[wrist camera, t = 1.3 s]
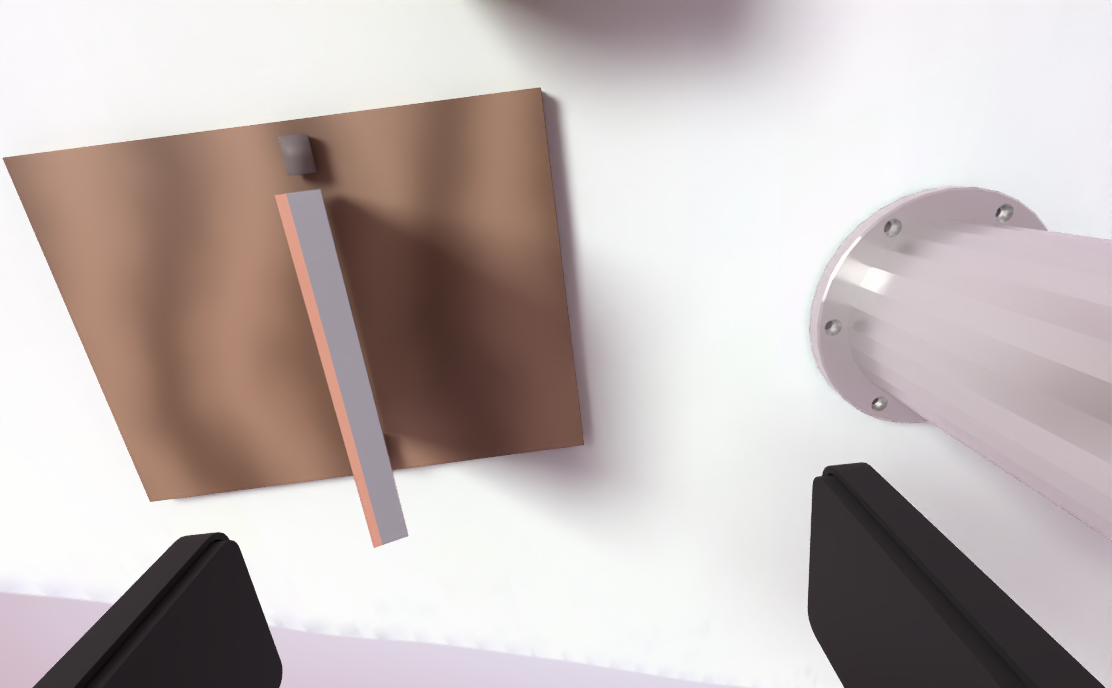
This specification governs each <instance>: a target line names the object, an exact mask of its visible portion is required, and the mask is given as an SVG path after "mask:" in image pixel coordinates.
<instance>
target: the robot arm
mask: <svg viewBox="0 0 1112 688" xmlns="http://www.w3.org/2000/svg"><path fill="white" fill-rule="evenodd" d="M885 224H886V226H885ZM884 227H885V228H884ZM827 323H828V324H827ZM826 324H827V325H826ZM809 331H810V339H811V347H812V352H813V355H814V358H815V360H816V363H817V366H818V369H819V370H820V372H821V374H822V375H823V377H824V378H825V380H826V381H827V383H828V385H829V386H830V387H831V388H833V389H834V390H835V391H836V392H837V393H838V394H839V395H840V396H841V397H842V398H843V399H844V400H846V401H847V402H849V403H850V404H851V405H853V406H854V407H856V408H857V409H858V410H860V411H862V412H864V413H866V414H868V415H870V416H873V417H876V418H880V419H884V420H889V421H893V422H909V423H917V422H925V421H930V422H931V423H933V424H934V425H936V426H937V427H939V428H940V429H942V430H943V431H945V432H946V433H948V434H949V435H951V436H953V437H954V438H956V439H957V440H959V441H960V442H962V443H963V444H965V445H966V446H968V447H969V448H971V449H972V450H974V451H975V452H977V453H978V454H980V455H981V456H983V457H984V458H986V459H987V460H989V461H991V462H992V463H994V464H995V465H997V466H998V467H1000V468H1001V469H1003V470H1004V471H1006V472H1007V473H1009V474H1010V475H1012V476H1013V477H1015V478H1016V479H1018V480H1019V481H1021V482H1022V483H1024V484H1026V485H1027V486H1029V487H1030V488H1032V489H1033V490H1035V491H1036V492H1038V493H1039V494H1041V495H1042V496H1044V497H1045V498H1047V499H1048V500H1050V501H1051V502H1053V503H1054V504H1056V505H1057V506H1059V507H1061V508H1062V509H1064V510H1065V511H1067V512H1068V513H1070V514H1071V515H1073V516H1074V517H1076V518H1077V519H1079V520H1080V521H1082V522H1083V523H1085V524H1086V525H1088V526H1089V527H1091V528H1092V529H1094V530H1095V531H1097V532H1099V533H1100V534H1102V535H1103V536H1105V537H1106V538H1108V539H1109V540H1111V541H1112V240H1108V239H1100V238H1093V237H1086V236H1079V235H1072V234H1064V233H1057V232H1050V231H1048V230H1047V228H1046V227H1045V226H1044V224H1043V223H1042V222H1041V221H1040V219H1039V218H1038V217H1037V215H1036V214H1035V213H1034V212H1033V211H1031V210H1030V209H1029V208H1028V207H1026V206H1025V205H1024V204H1022V203H1021V202H1020V201H1019V200H1017V199H1014V198H1012V197H1010V196H1008V195H1005V194H1003V193H1001V192H998V191H994V190H988V189H983V188H977V187H959V186H948V187H941V188H933V189H926V190H923V191H920V192H917V193H914V194H911V195H908V196H905V197H902V198H900V199H899V200H897V201H895V202H893V203H891V204H889V205H887V206H885V207H883V208H881V209H880V210H878V211H877V212H876V213H875V214H873V215H872V216H871V217H869V218H868V219H867V220H865V221H864V222H863V223H861V224H860V225H859V226H858V227H857V228H856V229H855V230H854V231H853V232H852V233H851V234H850V235H849V236H848V237H847V238H846V240H845V241H844V242H843V243H842V244H841V245H840V247H839V248H838V250H837V251H836V252H835V254H834V255H833V257H832V258H831V260H830V261H829V263H828V264H827V266H826V268H825V270H824V273H823V275H822V277H821V279H820V281H819V283H818V285H817V288H816V292H815V296H814V299H813V303H812V307H811V316H810V329H809ZM808 616H809V621H810V624H811V627H812V630H813V632H814V634H815V637H816V638H817V640H818V642H819V644H820V645H821V647H822V649H823V651H824V653H825V654H826V656H827V658H828V660H829V661H830V663H831V665H832V667H833V668H834V670H835V672H836V674H837V676H838V677H839V679H840V681H841V683H842V684H843V686H844V688H1105V687H1104V686H1103V685H1102V684H1101V683H1100V682H1099V681H1098V680H1097V679H1096V678H1095V677H1094V676H1092V675H1091V674H1090V673H1089V672H1088V671H1087V670H1086V669H1085V668H1084V667H1083V666H1082V665H1081V664H1080V663H1079V662H1078V661H1077V660H1076V659H1074V658H1073V657H1072V656H1071V655H1070V654H1069V653H1068V652H1067V651H1066V650H1065V649H1064V648H1063V647H1062V646H1061V645H1060V644H1059V643H1058V642H1056V641H1055V640H1054V639H1053V638H1052V637H1051V636H1050V635H1049V634H1048V633H1047V632H1046V631H1045V630H1044V629H1043V628H1042V627H1041V626H1040V625H1038V624H1037V623H1036V622H1035V621H1034V620H1033V619H1032V618H1031V617H1030V616H1029V615H1028V614H1027V613H1026V612H1025V611H1024V610H1023V609H1022V608H1020V607H1019V606H1018V605H1017V604H1016V603H1015V602H1014V601H1013V600H1012V599H1011V598H1010V597H1009V596H1008V595H1007V594H1006V593H1005V592H1004V591H1002V590H1001V589H1000V588H999V587H998V586H997V585H996V584H995V583H994V582H993V581H992V580H991V579H990V578H989V577H988V576H987V575H986V574H984V573H983V572H982V571H981V570H980V569H979V568H978V567H977V566H976V565H975V564H974V563H973V562H972V561H971V560H970V559H969V558H968V557H966V556H965V555H964V554H963V553H962V552H961V551H960V550H959V549H958V548H957V547H956V546H955V545H954V544H953V543H952V542H951V541H950V540H948V539H947V538H946V537H945V536H944V535H943V534H942V533H941V532H940V531H939V530H938V529H937V528H936V527H935V526H934V525H933V524H932V523H930V522H929V521H928V520H927V519H926V518H925V517H924V516H923V515H922V514H921V513H920V512H919V511H918V510H917V509H916V508H915V507H914V506H912V505H911V504H910V503H909V502H908V501H907V500H906V499H905V498H904V497H903V496H902V495H901V494H900V493H899V492H898V491H897V490H896V489H894V488H893V487H892V486H891V485H890V484H889V483H888V482H887V481H886V480H885V479H884V478H883V477H882V476H881V475H880V474H879V473H878V472H876V471H875V470H874V469H873V468H872V467H871V466H870V465H868V464H867V463H862V462H861V463H852V464H842V465H833V466H827V467H826V468H825V469H824V471H823V475H822V476H819V477H816V478H815V479H814V481H813V489H812V513H811V538H810V563H809V588H808ZM281 680H282V664H281V660H280V658H279V655H278V652H277V649H276V646H275V644H274V641H273V638H272V635H271V633H270V630H269V627H268V624H267V622H266V619H265V616H264V613H263V611H262V608H261V605H260V603H259V600H258V597H257V594H256V592H255V589H254V586H253V583H252V581H251V578H250V575H249V572H248V570H247V567H246V564H245V561H244V559H243V556H242V553H241V550H240V548H239V546H238V544H237V543H236V542H235V541H232V540H229V538H228V537H227V536H226V535H225V534H224V533H220V532H217V533H207V534H198V535H189V536H184V537H181V538H179V539H178V540H177V541H175V542H174V543H173V544H172V545H171V546H170V547H169V548H168V549H167V551H166V552H165V553H164V554H163V555H162V556H161V557H160V558H159V559H158V560H157V561H156V562H155V563H154V564H153V565H152V566H151V567H150V568H149V569H148V570H147V571H146V572H145V573H144V574H143V575H142V576H141V577H140V578H139V579H138V580H137V581H136V582H135V583H134V584H133V585H132V586H131V587H130V588H129V589H128V590H127V591H126V593H125V594H124V595H123V596H122V597H121V598H120V599H119V600H118V601H117V602H116V603H115V604H114V605H113V606H112V607H111V608H110V609H109V610H108V611H107V612H106V613H105V614H104V615H103V616H102V617H101V618H100V619H99V620H98V621H97V622H96V623H95V624H94V625H93V626H92V627H91V628H90V630H88V632H86V634H85V635H84V636H83V637H82V638H81V639H80V640H79V641H78V642H77V643H76V644H75V645H74V646H73V647H72V648H71V649H70V650H69V651H68V652H67V653H66V654H65V655H64V656H63V657H62V658H61V659H60V660H59V661H58V662H57V663H56V664H55V665H54V667H52V668H51V669H50V670H49V671H48V672H47V673H46V674H45V676H44V677H43V678H42V679H41V680H40V681H39V682H38V683H37V684H36V685H35V686H34V687H33V688H279V687H280V684H281Z"/></svg>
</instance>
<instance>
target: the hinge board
mask: <svg viewBox="0 0 1112 688" xmlns="http://www.w3.org/2000/svg"><path fill="white" fill-rule="evenodd" d="M3 160H4V162H5V165H6V167H7V169H8V172H9V174H10V176H11V179H12V181H13V183H14V186H15V188H16V190H17V193H18V195H19V197H20V200H21V202H22V204H23V207H24V209H25V211H26V214H27V216H28V218H29V221H30V223H31V225H32V228H33V230H34V232H35V235H36V237H37V239H38V242H39V244H40V246H41V249H42V251H43V253H44V256H45V258H46V260H47V263H48V265H49V267H50V270H51V272H52V274H53V277H54V279H55V281H56V284H57V286H58V288H59V291H60V293H61V295H62V298H63V300H64V302H65V305H66V307H67V309H68V312H69V314H70V316H71V318H72V321H73V323H74V325H75V328H76V330H77V332H78V335H79V337H80V339H81V342H82V344H83V346H84V349H85V351H86V353H87V356H88V358H89V360H90V363H91V365H92V367H93V370H94V372H95V374H96V377H97V379H98V381H99V384H100V386H101V388H102V391H103V393H104V395H105V398H106V400H107V402H108V405H109V407H110V409H111V412H112V414H113V416H114V419H115V421H116V423H117V426H118V428H119V430H120V433H121V435H122V437H123V440H124V442H125V444H126V447H127V449H128V451H129V454H130V456H131V458H132V461H133V463H134V465H135V468H136V470H137V472H138V475H139V477H140V479H141V482H142V484H143V486H144V489H145V491H146V493H147V496H148V498H149V500H150V502H153V501H160V500H168V499H176V498H183V497H191V496H198V495H206V494H214V493H221V492H229V491H237V490H244V489H252V488H259V487H267V486H275V485H282V484H290V483H297V482H305V481H313V480H320V479H328V478H336V477H343V476H351V475H353V472H352V468H351V465H350V461H349V458H348V454H347V451H346V447H345V443H344V440H343V436H342V433H341V429H340V426H339V422H338V419H337V415H336V412H335V408H334V404H333V401H332V397H331V394H330V390H329V387H328V383H327V380H326V376H325V373H324V369H323V365H322V362H321V358H320V355H319V351H318V348H317V344H316V341H315V337H314V333H313V330H312V326H311V323H310V319H309V316H308V312H307V309H306V305H305V302H304V298H303V294H302V291H301V287H300V284H299V280H298V277H297V273H296V270H295V266H294V262H293V259H292V255H291V252H290V248H289V245H288V241H287V238H286V234H285V231H284V227H283V223H282V220H281V216H280V213H279V209H278V206H277V202H276V199H275V195H279V194H285V193H291V192H298V191H305V190H313V189H320V188H321V189H322V193H323V197H324V201H325V205H326V209H327V213H328V217H329V221H330V225H331V229H332V233H333V237H334V241H335V245H336V248H337V252H338V256H339V260H340V264H341V268H342V272H343V276H344V280H345V284H346V288H347V292H348V296H349V300H350V304H351V308H352V312H353V315H354V319H355V323H356V327H357V331H358V335H359V339H360V343H361V347H362V351H363V355H364V359H365V363H366V367H367V371H368V375H369V378H370V382H371V386H372V390H373V394H374V398H375V402H376V406H377V410H378V414H379V418H380V422H381V426H382V430H383V434H384V438H385V442H386V446H387V450H388V454H389V458H390V463H391V467H392V470H396V469H404V468H412V467H419V466H427V465H435V464H442V463H450V462H457V461H465V460H473V459H480V458H488V457H495V456H503V455H511V454H518V453H526V452H534V451H541V450H549V449H556V448H564V447H572V446H579V445H584V442H583V433H582V425H581V417H580V409H579V400H578V392H577V384H576V376H575V367H574V359H573V351H572V343H571V334H570V326H569V318H568V309H567V301H566V293H565V285H564V276H563V268H562V260H561V252H560V243H559V235H558V227H557V218H556V210H555V202H554V194H553V185H552V177H551V169H550V161H549V152H548V144H547V136H546V128H545V119H544V111H543V103H542V94H541V88H533V89H525V90H518V91H510V92H502V93H495V94H487V95H479V96H472V97H464V98H456V99H449V100H441V101H433V102H426V103H418V104H411V105H403V106H395V107H388V108H380V109H372V110H365V111H357V112H349V113H342V114H334V115H326V116H319V117H311V118H303V119H296V120H288V121H280V122H273V123H265V124H258V125H250V126H242V127H235V128H227V129H219V130H212V131H204V132H196V133H189V134H181V135H173V136H166V137H158V138H150V139H143V140H135V141H127V142H120V143H112V144H105V145H97V146H89V147H82V148H74V149H66V150H59V151H51V152H43V153H36V154H28V155H20V156H13V157H5V158H3Z"/></svg>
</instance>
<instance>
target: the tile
mask: <svg viewBox="0 0 1112 688" xmlns="http://www.w3.org/2000/svg"><path fill="white" fill-rule="evenodd" d="M275 199H276V202H277V206H278V209H279V213H280V216H281V220H282V223H283V227H284V231H285V234H286V238H287V241H288V245H289V248H290V252H291V255H292V259H293V262H294V266H295V270H296V273H297V277H298V280H299V284H300V287H301V291H302V294H303V298H304V302H305V305H306V309H307V312H308V316H309V319H310V323H311V326H312V330H313V333H314V337H315V341H316V344H317V348H318V351H319V355H320V358H321V362H322V365H323V369H324V373H325V376H326V380H327V383H328V387H329V390H330V394H331V397H332V401H333V404H334V408H335V412H336V415H337V419H338V422H339V426H340V429H341V433H342V436H343V440H344V443H345V447H346V451H347V454H348V458H349V461H350V465H351V468H352V472H353V475H354V479H355V483H356V486H357V490H358V493H359V497H360V500H361V504H362V507H363V511H364V514H365V518H366V522H367V525H368V529H369V532H370V536H371V539H372V543H373V546H374V548H375V547H378V546H381V545H384V544H387V543H390V542H392V541H395V540H398V539H401V538H404V537H407V536H408V532H407V528H406V524H405V520H404V516H403V512H402V508H401V504H400V499H399V495H398V491H397V487H396V483H395V479H394V475H393V471H392V467H391V463H390V458H389V454H388V450H387V446H386V442H385V438H384V434H383V430H382V426H381V422H380V418H379V414H378V410H377V406H376V402H375V398H374V394H373V390H372V386H371V382H370V378H369V375H368V371H367V367H366V363H365V359H364V355H363V351H362V347H361V343H360V339H359V335H358V331H357V327H356V323H355V319H354V315H353V312H352V308H351V304H350V300H349V296H348V292H347V288H346V284H345V280H344V276H343V272H342V268H341V264H340V260H339V256H338V252H337V248H336V245H335V241H334V237H333V233H332V229H331V225H330V221H329V217H328V213H327V209H326V205H325V201H324V197H323V193H322V189H321V188H320V189H313V190H305V191H298V192H291V193H285V194H279V195H275Z"/></svg>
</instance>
